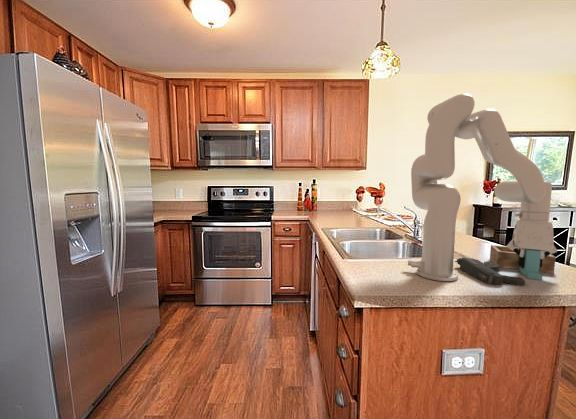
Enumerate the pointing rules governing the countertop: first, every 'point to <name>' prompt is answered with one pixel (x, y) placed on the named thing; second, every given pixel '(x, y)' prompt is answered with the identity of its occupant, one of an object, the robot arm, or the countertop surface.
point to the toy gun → (487, 272)
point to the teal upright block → (532, 264)
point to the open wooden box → (510, 259)
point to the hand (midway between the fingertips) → (529, 267)
